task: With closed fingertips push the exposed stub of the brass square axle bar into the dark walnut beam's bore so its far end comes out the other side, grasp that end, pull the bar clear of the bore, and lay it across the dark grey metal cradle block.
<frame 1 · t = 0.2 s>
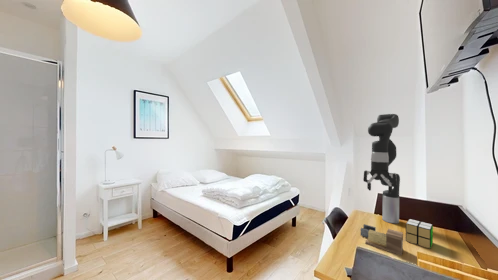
hand: (379, 191, 99), 28 cm above the table, fingers open, 8 cm apart
puzzle cube: (419, 242, 103), on the table
cradle: (368, 234, 110), on the table
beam: (383, 246, 98), on the table
axle bar: (384, 244, 97), point 1 cm above the table, touching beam
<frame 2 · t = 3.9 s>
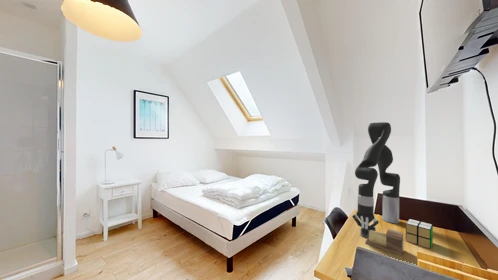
hand: (364, 234, 103), 3 cm above the table, fingers closed
axle bar: (385, 245, 97), point 1 cm above the table, touching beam, gripper
everything else where it was.
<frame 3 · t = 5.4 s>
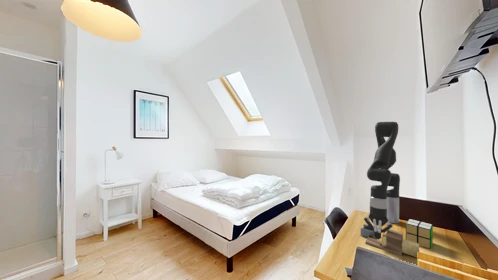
hand: (377, 238, 99), 3 cm above the table, fingers closed
axle bar: (399, 249, 93), point 1 cm above the table, touching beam, gripper
everything else where it was.
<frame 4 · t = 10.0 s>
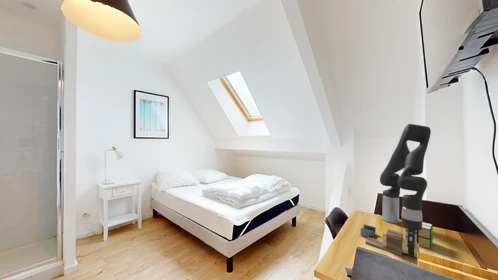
hand: (411, 253, 90), 1 cm above the table, fingers closed on axle bar, 4 cm apart
axle bar: (400, 249, 93), point 1 cm above the table, touching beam, gripper
everything else where it was.
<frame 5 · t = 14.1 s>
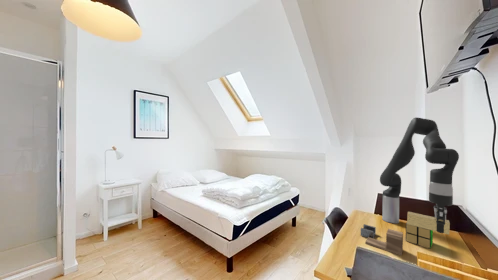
hand: (439, 230, 85), 15 cm above the table, fingers closed on axle bar, 4 cm apart
axle bar: (427, 227, 87), point 15 cm above the table, touching gripper
everything else where it was.
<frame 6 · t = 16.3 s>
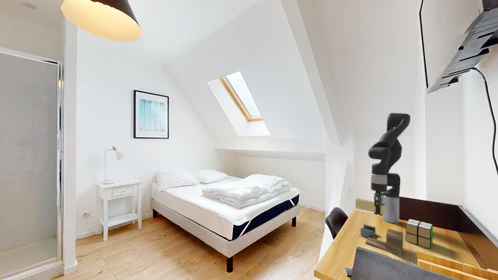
hand: (378, 212, 107), 14 cm above the table, fingers closed on axle bar, 4 cm apart
axle bar: (369, 210, 110), point 14 cm above the table, touching gripper
everything else where it was.
when the fingers open (5 cm above the table, at t = 18.3 s): axle bar drops 2 cm, resting on cradle.
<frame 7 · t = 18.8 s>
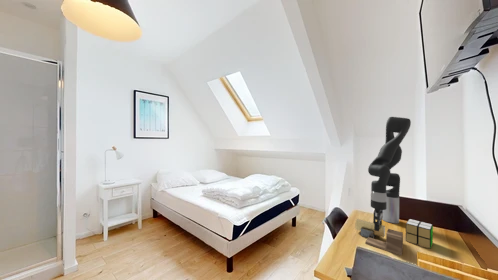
hand: (378, 228, 107), 5 cm above the table, fingers open, 8 cm apart
axle bar: (369, 231, 109), point 2 cm above the table, touching cradle
everything else where it was.
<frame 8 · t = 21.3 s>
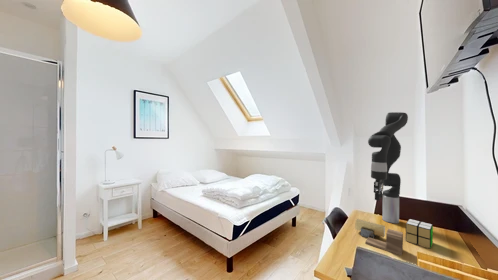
hand: (378, 198, 107), 22 cm above the table, fingers open, 8 cm apart
nothing on the table moved.
at the end: axle bar 0.8 cm off-centre on the cradle, point 2.0 cm above the cradle's base; axle bar tilted 0°; the gripper is holding nothing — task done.
